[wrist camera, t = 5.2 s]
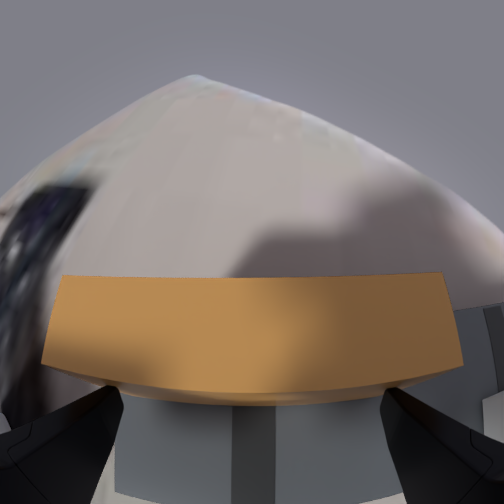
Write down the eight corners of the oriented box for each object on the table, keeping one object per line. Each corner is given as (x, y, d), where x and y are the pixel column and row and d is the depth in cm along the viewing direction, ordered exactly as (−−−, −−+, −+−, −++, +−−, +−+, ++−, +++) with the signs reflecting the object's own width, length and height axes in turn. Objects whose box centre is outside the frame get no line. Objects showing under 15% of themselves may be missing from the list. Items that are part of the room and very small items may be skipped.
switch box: (526, 418, 12) (557, 408, 8) (143, 481, 13) (114, 491, 9) (510, 315, 17) (538, 294, 14) (152, 341, 18) (128, 320, 15)
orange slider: (377, 396, 12) (463, 365, 6) (131, 395, 12) (40, 363, 6) (371, 339, 13) (441, 271, 7) (138, 340, 14) (62, 275, 8)
